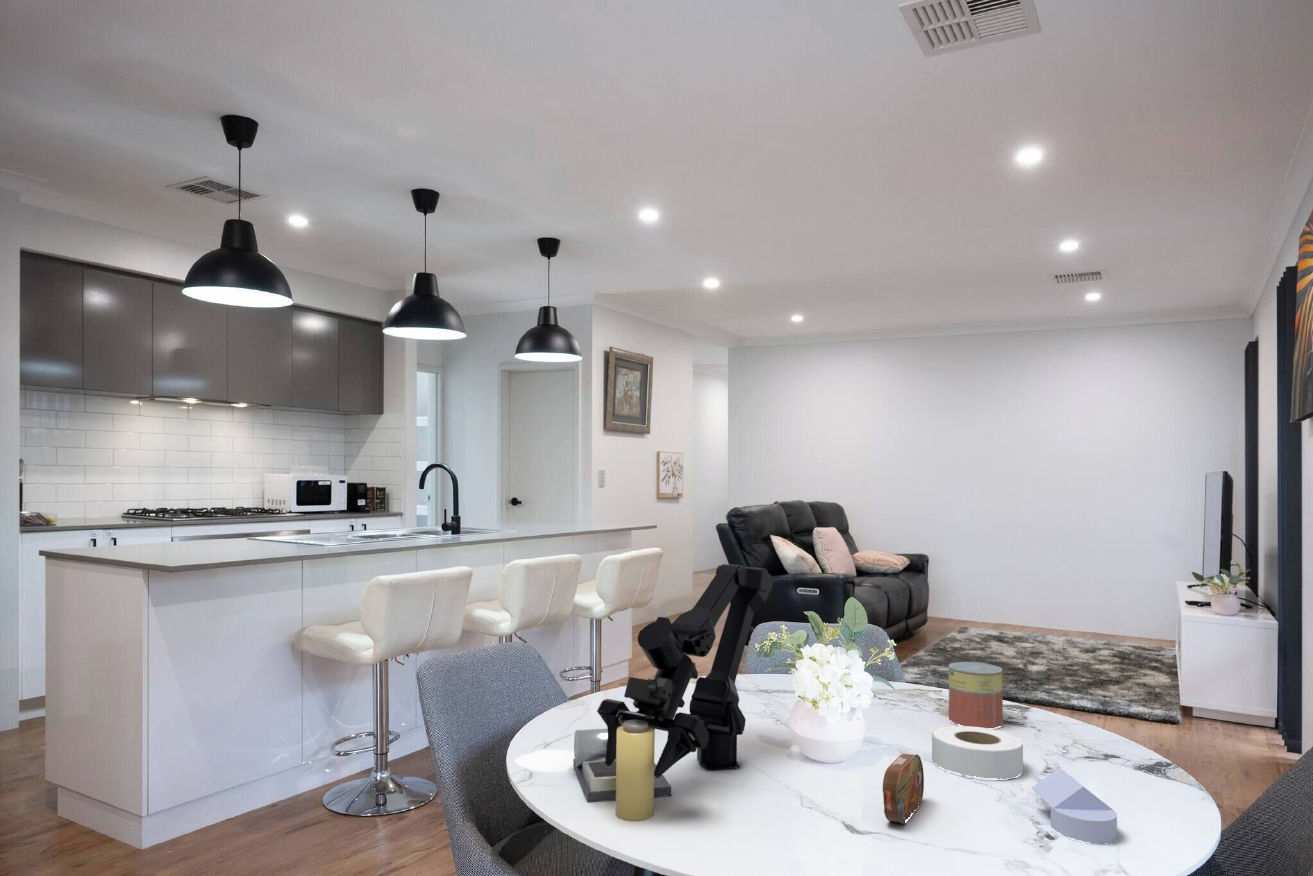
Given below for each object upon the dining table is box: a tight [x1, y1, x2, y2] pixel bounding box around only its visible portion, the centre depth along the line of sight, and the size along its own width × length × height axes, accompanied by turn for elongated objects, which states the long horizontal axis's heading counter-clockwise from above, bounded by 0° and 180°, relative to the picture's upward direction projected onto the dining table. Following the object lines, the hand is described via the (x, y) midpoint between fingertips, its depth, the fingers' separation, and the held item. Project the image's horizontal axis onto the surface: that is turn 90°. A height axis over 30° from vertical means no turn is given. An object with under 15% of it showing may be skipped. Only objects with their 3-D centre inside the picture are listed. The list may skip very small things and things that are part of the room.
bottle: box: [615, 720, 656, 822], centre depth 134 cm, size 6×6×14 cm
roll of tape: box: [931, 725, 1024, 779], centre depth 159 cm, size 16×16×6 cm
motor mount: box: [572, 728, 672, 803], centre depth 148 cm, size 14×17×8 cm
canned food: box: [947, 661, 1004, 728], centre depth 187 cm, size 11×11×12 cm
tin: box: [882, 753, 925, 825], centre depth 136 cm, size 15×3×8 cm, turn 148°
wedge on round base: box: [1030, 767, 1118, 845], centre depth 132 cm, size 9×7×13 cm
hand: (630, 770), depth 133 cm, fingers open, 9 cm apart
